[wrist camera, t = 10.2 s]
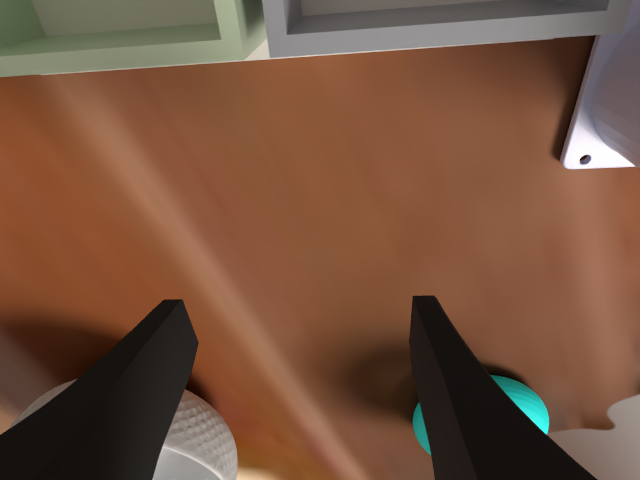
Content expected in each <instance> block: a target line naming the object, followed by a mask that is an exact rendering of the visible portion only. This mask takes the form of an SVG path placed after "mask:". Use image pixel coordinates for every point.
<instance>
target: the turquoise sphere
mask: <svg viewBox="0 0 640 480" xmlns="http://www.w3.org/2000/svg"><path fill="white" fill-rule="evenodd" d="M491 377H492V378H493V379H494V380H495V381H496V383H497V384H498V385H499V386H500V387H501V388H502V389H503V391H504V392H505V393H506V394H507V395H508V396H509V397H510V398H511V399H512V400H513V402H514V403H515V404H516V405H517V406H518V407H519V408H520V409H521V410H522V411H523V412H524V413H525V414H526V415H527V416H528V417H529V418H530V419H531V420H532V421H533V422H534V423H535V424H536V425H537V426H538V427H539V428H540V429H541V430H542V431H543V432H544V433H545V434H546V435H547V432H548V428H549V417H548V412H547V409H546V407H545V405H544V403H543V401H542V400H541V399H540V397H539V396H538V395H537V394H536V393H535V392H534V391H533V390H531V389H530V388H529V387H527V386H526V385H524V384H522V383H520V382H518V381H516V380H513V379H509V378H506V377H502V376H496V375H491ZM413 428H414V432H415V435H416V438H417V440H418V441H419V443H420V444H421V446H422V447H423V448H424V449H425V450H426V451H427V452H428V453H429V454H430V455H431V451H430V446H429V442H428V437H427V433H426V429H425V424H424V420H423V416H422V411H421V407H420V403H418V404H417V407H416V409H415V411H414V415H413Z"/></svg>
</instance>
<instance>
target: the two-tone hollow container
mask: <svg viewBox="0 0 640 480" xmlns="http://www.w3.org/2000/svg"><path fill="white" fill-rule="evenodd" d="M631 3H632V0H0V77H8V76H22V75H36V74H41V75H51V74H65V73H79V72H93V71H108V70H122V69H136V68H150V67H164V66H179V65H193V64H207V63H221V62H236V61H250V60H264V59H278V58H292V57H307V56H321V55H335V54H349V53H364V52H378V51H392V50H406V49H420V48H435V47H449V46H463V45H477V44H492V43H506V42H520V41H534V40H548V39H554V38H561V37H575V36H589V35H603V34H617V33H622V31H623V28H624V25H625V22H626V19H627V16H628V12H629V9H630V6H631Z"/></svg>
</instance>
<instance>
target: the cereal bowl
mask: <svg viewBox="0 0 640 480" xmlns="http://www.w3.org/2000/svg"><path fill="white" fill-rule="evenodd" d="M76 380H77V379H74V380H72V381H70V382H66V383H64V384H62V385H60V386H57V387H54V388H53V389H52V390H50V391H47V392H46V393H44V394H43V395H42V396H41V397H39V398H37V399H36V400H35V401H34V402H33V403H31V404H30V405H29V406H28V407H27V408H26V409H25V410H24V411H23V412H22V413H21V414H20V415H19V417H18V418H17V419H16V420H15V421H14V422H13V424H12V425H11V427H13V426H14V425H16V424H17V423H19V422H20V421H22V420H23V419H25V418H26V417H28V416H29V415H30V414H32V413H33V412H35V411H36V410H38V409H39V408H41V407H42V406H43V405H45V404H46V403H47V402H49V401H50V400H51V399H53V398H54V397H55V396H57V395H58V394H59V393H61V392H62V391H63V390H65V389H66V388H67V387H68V386H70V385H71V384H72V383H73V382H75V381H76ZM11 427H10V428H11ZM10 428H9V429H10ZM236 477H237V450H236V444H235V442H234V437H233V436H232V434H231V431H230V429H229V427H228V426H227V423H226V422H225V421H224V420H223V418H222V416H221V415H220V414H219V413H218V412H217V411H216V410H215V409H214V408H213V407H212V406H211V405H209V404H208V403H207V402H206V401H205V400H203V399H201V398H200V397H198V396H197V395H195V394H193V393H191V392H190V391H187V390H186V389H185V390H184V393H183V395H182V398H181V401H180V403H179V406H178V408H177V411H176V413H175V416H174V418H173V421H172V423H171V426H170V428H169V431H168V433H167V436H166V438H165V441H164V444H163V447H162V450H161V452H160V455H159V459H158V462H157V465H156V469H155V472H154V476H153V479H152V480H236Z"/></svg>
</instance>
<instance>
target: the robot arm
mask: <svg viewBox="0 0 640 480" xmlns="http://www.w3.org/2000/svg"><path fill="white" fill-rule="evenodd" d="M584 155H587V157H586V159H584V160H583V161H580V162H579V160H580V158H581V157H582V156H584ZM560 162H561V164H562V165H563V166H564V167H565V168H567V169H591V168H614V167H637V168H639V169H640V0H632V3H631V6H630V9H629V12H628V16H627V19H626V22H625V25H624V28H623V31H622V33H617V34H603V35H596V37H595V40H594V44H593V47H592V51H591V54H590V58H589V61H588V64H587V68H586V71H585V75H584V78H583V82H582V85H581V88H580V92H579V95H578V99H577V102H576V106H575V109H574V112H573V116H572V119H571V123H570V126H569V130H568V133H567V137H566V140H565V143H564V147H563V150H562V154H561V157H560ZM409 344H410V353H411V362H412V370H413V376H414V381H415V385H416V389H417V394H418V398H419V403H420V407H421V411H422V416H423V420H424V424H425V429H426V433H427V437H428V442H429V446H430V451H431V457H432V462H433V469H434V476H435V480H597V479H596V478H595V477H594V476H592V475H591V474H590V473H589V472H588V471H587V470H585V469H584V468H583V467H582V466H580V465H579V464H578V463H577V462H576V461H575V460H574V459H573V458H572V457H570V456H569V455H568V454H567V453H566V452H565V451H564V450H563V449H562V448H560V447H559V446H558V445H557V444H556V443H555V442H554V441H553V440H552V439H551V438H549V436H547V435H546V434H545V433H544V432H543V431H542V430H541V429H540V428H539V427H538V426H537V425H536V424H535V423H534V422H533V421H532V420H531V419H530V418H529V417H528V416H527V415H526V414H525V413H524V412H523V411H522V410H521V409H520V408H519V407H518V406H517V405H516V404H515V403H514V402H513V400H512V399H511V398H510V397H509V396H508V395H507V394H506V393H505V392H504V391H503V389H502V388H501V387H500V386H499V385H498V384H497V383H496V381H495V380H494V379H493V378H492V377H491V375H490V374H489V373H488V372H487V371H486V369H485V368H484V367H483V366H482V364H481V363H480V362H479V360H478V359H477V358H476V357H475V355H474V354H473V353H472V351H471V350H470V349H469V347H468V346H467V344H466V343H465V342H464V340H463V339H462V338H461V336H460V335H459V333H458V332H457V330H456V329H455V327H454V326H453V324H452V323H451V321H450V320H449V318H448V316H447V315H446V313H445V312H444V310H443V308H442V307H441V305H440V303H439V301H438V299H437V298H436V297H435V296H413V301H412V313H411V326H410V338H409ZM197 347H198V340H197V337H196V335H195V332H194V329H193V327H192V324H191V321H190V319H189V316H188V313H187V311H186V308H185V305H184V303H183V300H182V299H177V300H163V301H162V302H161V303H160V304H159V305H158V306H157V307H156V308H154V309H153V310H152V311H151V312H150V313H149V314H148V315H147V316H146V317H145V318H144V319H143V320H142V321H141V322H140V323H139V324H138V325H137V326H136V327H135V328H134V329H133V330H132V331H131V332H130V333H128V334H127V335H126V336H125V337H124V338H123V339H122V340H121V341H120V342H119V343H118V344H117V345H116V346H115V347H114V348H113V349H111V350H110V351H109V352H108V353H107V354H106V355H105V356H104V357H102V358H101V359H100V360H99V361H98V362H97V363H96V364H94V365H93V366H92V367H91V368H90V369H89V370H88V371H86V372H85V373H84V374H83V375H82V376H81V377H79V378H78V379H77V380H76V381H75V382H73V383H72V384H71V385H70V386H68V387H67V388H66V389H65V390H63V391H62V392H61V393H59V394H58V395H57V396H55V397H54V398H53V399H51V400H50V401H49V402H47V403H46V404H45V405H43V406H42V407H41V408H39V409H38V410H36V411H35V412H33V413H32V414H30V415H29V416H28V417H26V418H25V419H23V420H22V421H20V422H19V423H17V424H16V425H14V426H13V427H11V428H10V429H8V430H7V431H6V432H4V433H2V434H1V435H0V480H152V479H153V476H154V472H155V469H156V465H157V462H158V459H159V455H160V452H161V450H162V447H163V444H164V441H165V438H166V436H167V433H168V431H169V428H170V426H171V423H172V421H173V418H174V416H175V413H176V411H177V408H178V406H179V403H180V401H181V398H182V395H183V393H184V390H185V388H186V385H187V382H188V380H189V377H190V374H191V371H192V368H193V364H194V360H195V356H196V352H197Z"/></svg>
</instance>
